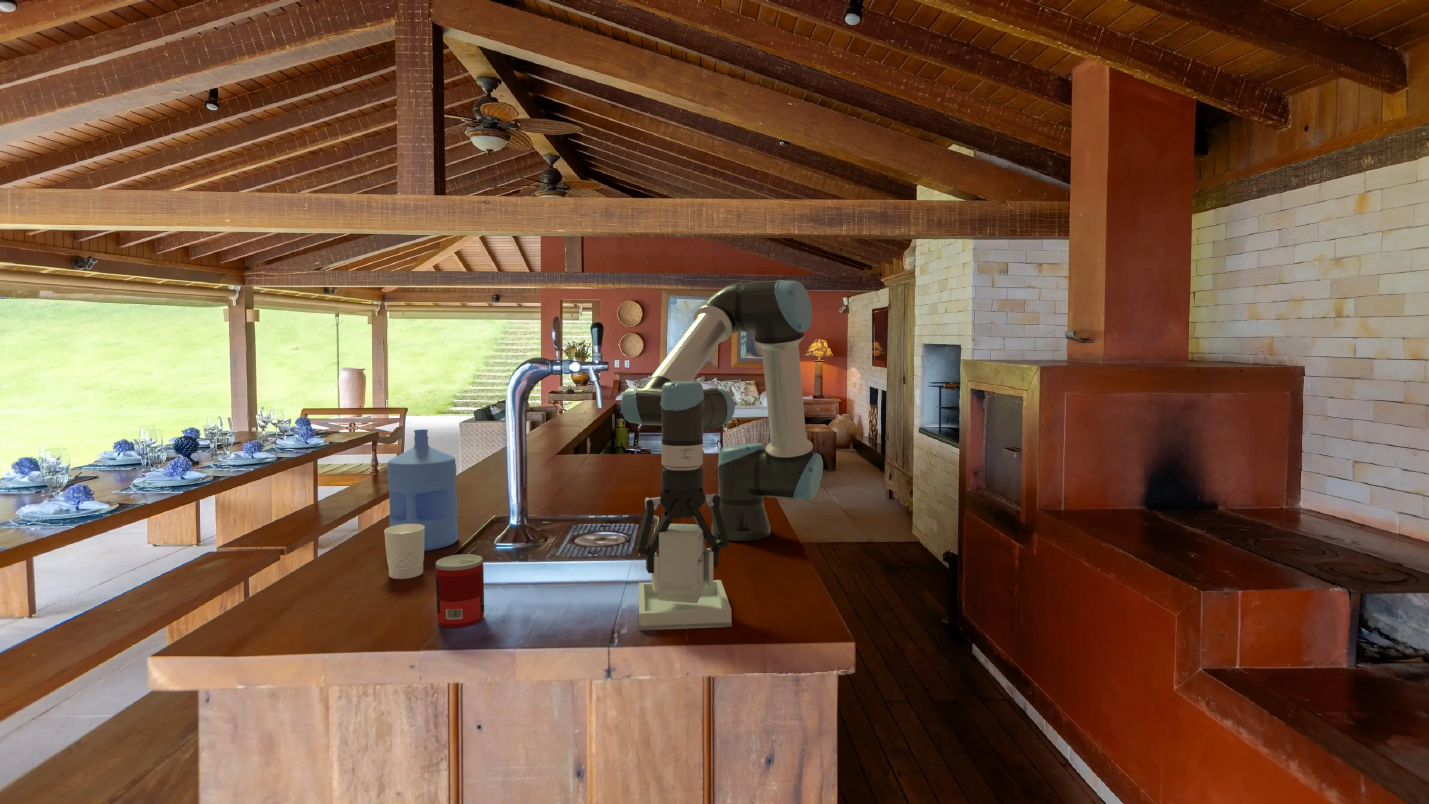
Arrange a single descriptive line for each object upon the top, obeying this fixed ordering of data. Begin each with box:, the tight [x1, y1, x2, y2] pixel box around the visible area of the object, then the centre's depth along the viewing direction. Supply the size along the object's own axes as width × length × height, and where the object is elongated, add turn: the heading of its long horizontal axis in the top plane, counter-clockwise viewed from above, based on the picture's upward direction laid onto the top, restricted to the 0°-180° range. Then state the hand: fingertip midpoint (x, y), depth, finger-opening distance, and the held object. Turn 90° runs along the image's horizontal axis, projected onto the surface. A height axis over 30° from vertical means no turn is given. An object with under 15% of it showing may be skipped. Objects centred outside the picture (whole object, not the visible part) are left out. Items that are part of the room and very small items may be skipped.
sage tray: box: [638, 579, 732, 631], centre depth 134 cm, size 16×16×3 cm
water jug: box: [386, 428, 459, 552], centre depth 178 cm, size 16×16×28 cm
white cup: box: [383, 524, 425, 580], centre depth 155 cm, size 8×8×10 cm
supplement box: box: [658, 523, 706, 603], centre depth 134 cm, size 7×7×13 cm
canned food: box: [435, 553, 485, 629], centre depth 130 cm, size 8×8×11 cm
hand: (682, 587), depth 134 cm, fingers closed on supplement box, 9 cm apart
